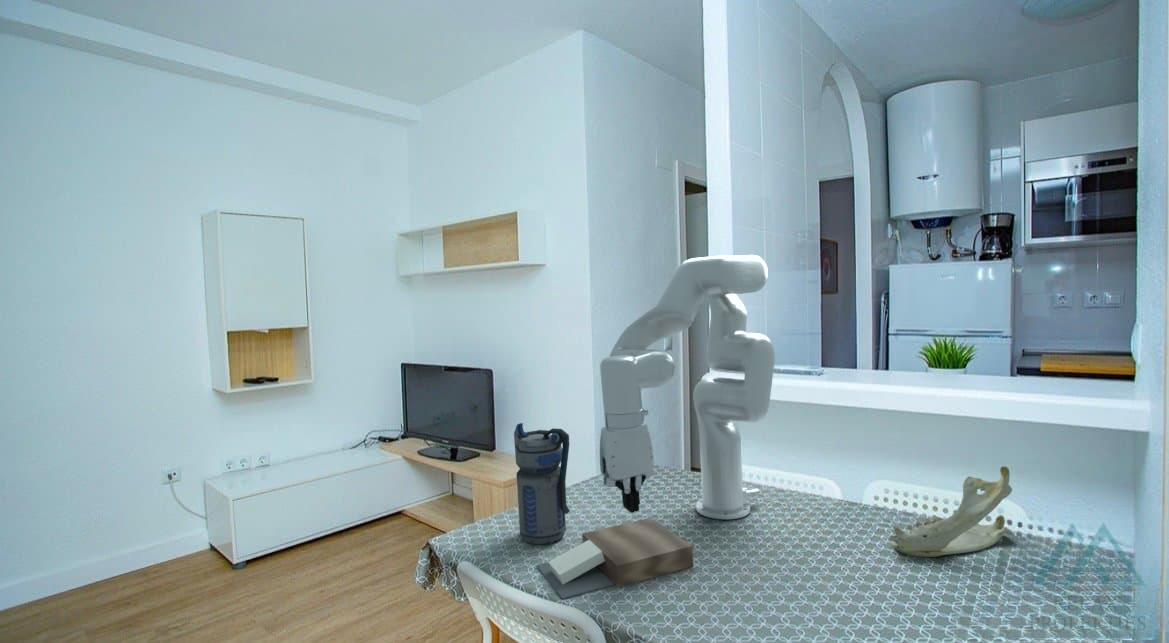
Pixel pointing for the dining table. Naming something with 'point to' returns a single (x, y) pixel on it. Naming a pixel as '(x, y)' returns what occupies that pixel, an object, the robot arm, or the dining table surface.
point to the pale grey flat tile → (576, 561)
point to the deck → (639, 551)
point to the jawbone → (959, 523)
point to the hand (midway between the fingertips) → (631, 509)
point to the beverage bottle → (541, 483)
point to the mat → (576, 582)
